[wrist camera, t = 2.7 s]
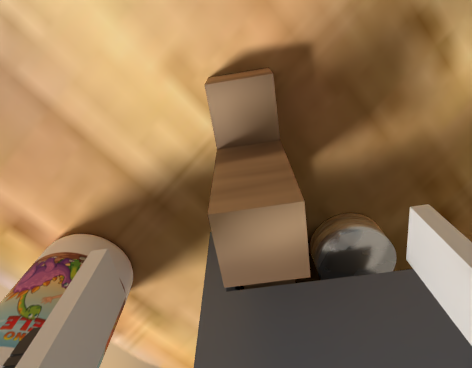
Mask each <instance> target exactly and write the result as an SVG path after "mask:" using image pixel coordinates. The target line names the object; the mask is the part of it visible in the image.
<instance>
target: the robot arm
mask: <svg viewBox="0 0 472 368" xmlns="http://www.w3.org/2000/svg"><path fill="white" fill-rule="evenodd" d="M406 260H407V261H408V263H409V264H410V265H411V267H412V268H413V269H414V271H415V272H416V273H417V274H418V276H419V277H420V278H421V280H422V281H423V282H424V284H425V285H426V286H427V288H428V289H429V290H430V292H431V293H432V294H433V296H434V297H435V298H436V300H437V301H438V302H439V304H440V305H441V306H442V307H443V309H444V310H445V311H446V313H447V314H448V315H449V317H450V318H451V319H452V321H453V322H454V323H455V325H456V326H457V327H458V329H459V330H460V331H461V333H462V334H463V335H464V337H465V338H466V339H467V340H468V342H469V343H470V344H471V346H472V242H471V241H470V240H469V239H468V238H466V237H465V236H464V235H463V234H462V233H461V232H460V231H459V230H457V229H456V228H455V227H454V226H453V225H452V224H451V223H449V222H448V221H447V220H446V219H445V218H444V217H443V216H442V215H440V214H439V213H438V212H437V211H436V210H435V209H434V208H432V207H431V206H430V205H429V204H426V205H419V206H411V207H410V213H409V226H408V240H407V254H406ZM125 297H126V294H125V291H124V289H123V286H122V284H121V281H120V279H119V276H118V273H117V271H116V268H115V266H114V263H113V261H112V258H111V256H110V253H109V251H108V249H101V250H94V251H91V252H90V253H89V255H88V256H87V258H86V259H85V261H84V263H83V264H82V266H81V267H80V269H79V270H78V272H77V273H76V275H75V276H74V278H73V279H72V281H71V282H70V284H69V286H68V287H67V289H66V290H65V292H64V293H63V295H62V296H61V298H60V299H59V301H58V302H57V304H56V305H55V307H54V309H53V310H52V312H51V313H50V315H49V316H48V318H47V319H46V321H45V322H44V324H43V325H42V327H38V328H33V329H32V330H31V331H30V332H29V333H28V334H27V335H26V336H24V337H23V338H22V339H21V340H20V341H19V343H18V344H17V346H16V347H15V348H14V350H13V351H12V353H11V354H10V357H9V358H8V359H7V360H6V361H5V363H4V364H3V366H2V368H97V366H98V363H99V361H100V358H101V356H102V354H103V351H104V349H105V346H106V344H107V341H108V339H109V336H110V334H111V331H112V329H113V327H114V324H115V322H116V319H117V317H118V314H119V312H120V309H121V307H122V305H123V302H124V300H125Z"/></svg>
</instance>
